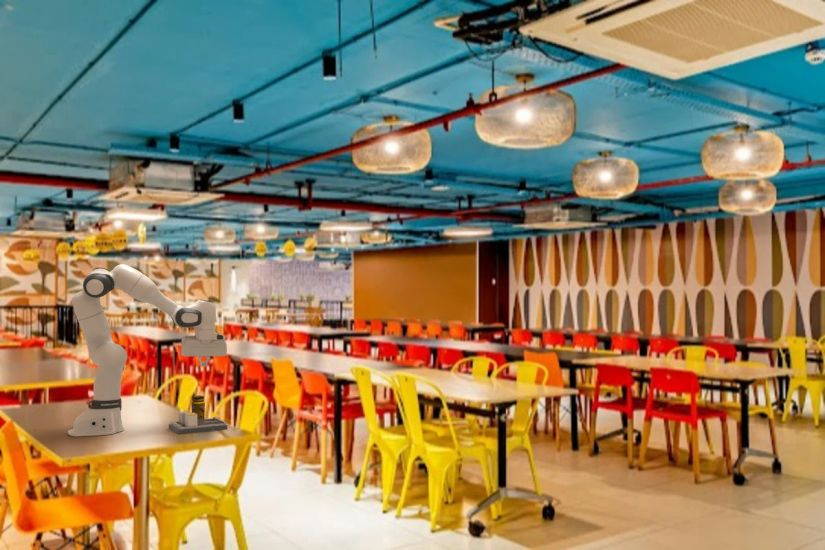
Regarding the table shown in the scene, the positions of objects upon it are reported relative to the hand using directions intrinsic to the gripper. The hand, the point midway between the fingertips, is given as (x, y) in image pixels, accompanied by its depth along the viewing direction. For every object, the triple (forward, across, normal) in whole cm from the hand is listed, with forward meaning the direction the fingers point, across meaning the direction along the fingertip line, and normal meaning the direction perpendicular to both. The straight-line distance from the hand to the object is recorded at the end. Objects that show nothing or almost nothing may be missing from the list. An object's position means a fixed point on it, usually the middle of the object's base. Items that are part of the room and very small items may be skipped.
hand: (203, 366), depth 334 cm
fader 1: (+26, -6, +4) cm, 27 cm away
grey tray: (+28, -1, 0) cm, 28 cm away
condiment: (+28, +4, +19) cm, 35 cm away
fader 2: (+26, -5, -4) cm, 27 cm away
